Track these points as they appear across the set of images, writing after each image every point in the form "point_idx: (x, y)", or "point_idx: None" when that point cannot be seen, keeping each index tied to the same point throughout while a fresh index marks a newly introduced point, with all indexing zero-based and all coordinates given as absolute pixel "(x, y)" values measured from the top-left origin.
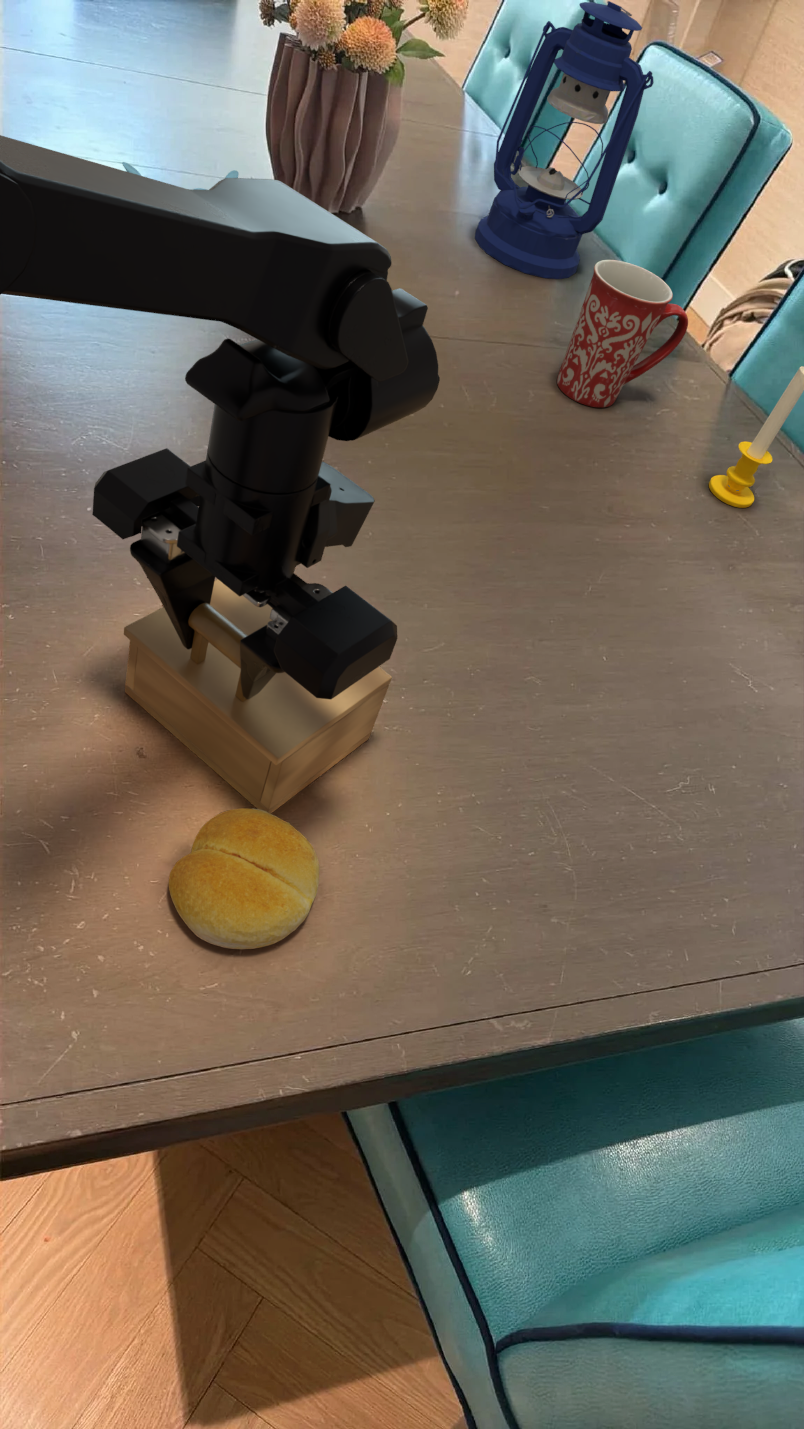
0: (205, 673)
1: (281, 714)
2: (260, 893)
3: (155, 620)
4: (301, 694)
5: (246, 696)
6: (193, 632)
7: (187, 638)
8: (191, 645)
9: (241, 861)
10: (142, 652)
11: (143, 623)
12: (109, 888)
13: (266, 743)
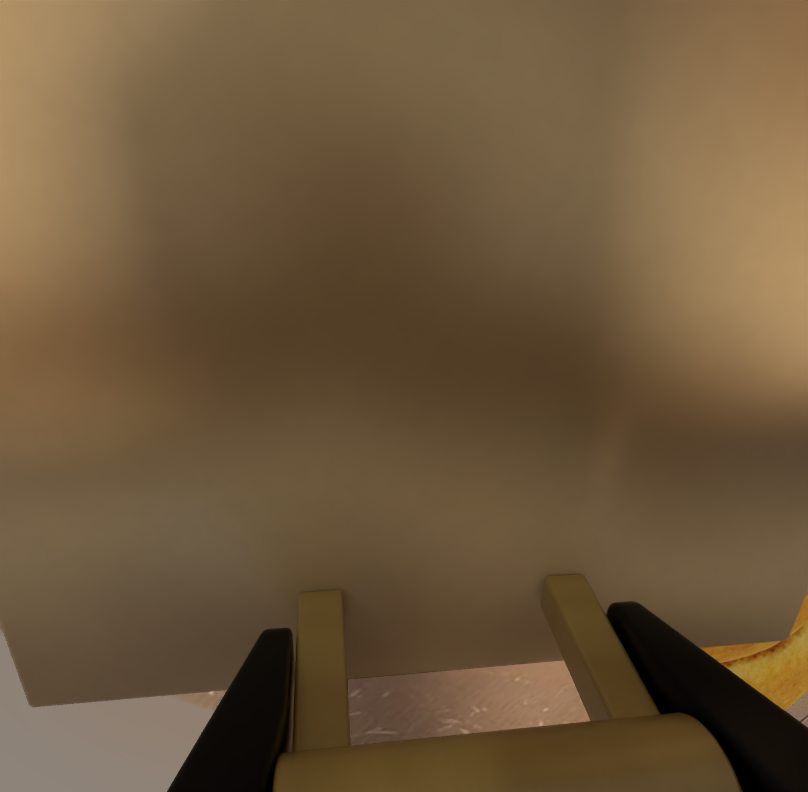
0: (394, 621)
1: (711, 534)
2: (803, 678)
3: (44, 614)
4: (723, 413)
5: None
6: (289, 750)
7: None
8: (293, 676)
9: (741, 673)
10: None
11: (42, 655)
12: (511, 703)
13: (732, 637)
